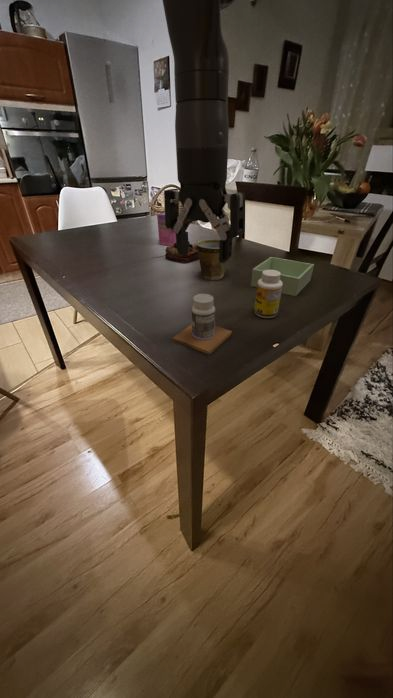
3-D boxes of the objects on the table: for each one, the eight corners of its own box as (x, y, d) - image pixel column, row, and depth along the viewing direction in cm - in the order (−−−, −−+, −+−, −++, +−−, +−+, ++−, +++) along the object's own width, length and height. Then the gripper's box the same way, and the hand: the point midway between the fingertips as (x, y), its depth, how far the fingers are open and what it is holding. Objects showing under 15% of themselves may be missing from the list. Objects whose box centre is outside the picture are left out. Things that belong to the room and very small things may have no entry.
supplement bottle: (251, 308, 70) (256, 268, 64) (274, 308, 70) (280, 267, 64) (256, 319, 65) (261, 277, 60) (280, 319, 66) (287, 276, 60)
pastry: (186, 264, 97) (185, 247, 94) (161, 258, 103) (159, 242, 100) (205, 256, 104) (205, 240, 101) (180, 251, 110) (179, 235, 107)
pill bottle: (193, 327, 61) (193, 292, 56) (215, 329, 61) (216, 293, 56) (190, 339, 57) (189, 302, 53) (213, 341, 57) (214, 303, 52)
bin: (310, 280, 84) (314, 264, 81) (295, 296, 75) (299, 278, 72) (268, 272, 90) (270, 256, 87) (250, 286, 82) (252, 269, 79)
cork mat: (231, 334, 61) (232, 331, 60) (209, 355, 55) (209, 351, 54) (197, 322, 65) (197, 319, 64) (173, 340, 59) (172, 337, 58)
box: (171, 246, 116) (168, 214, 110) (159, 244, 118) (156, 214, 112) (182, 240, 124) (181, 210, 117) (171, 238, 126) (169, 209, 119)
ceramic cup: (232, 280, 85) (235, 246, 79) (200, 283, 83) (200, 249, 78) (220, 266, 95) (222, 235, 90) (192, 269, 94) (191, 237, 88)
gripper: (258, 143, 40) (248, 258, 49) (178, 146, 46) (183, 247, 56) (233, 143, 35) (227, 271, 44) (147, 146, 41) (158, 257, 51)
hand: (202, 257), depth 50 cm, fingers open, 8 cm apart
